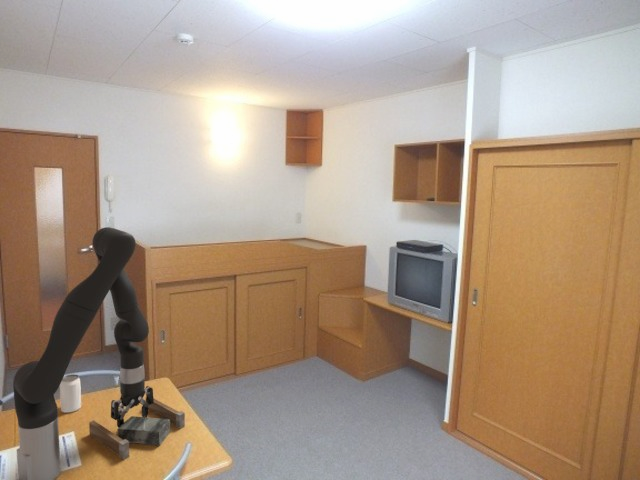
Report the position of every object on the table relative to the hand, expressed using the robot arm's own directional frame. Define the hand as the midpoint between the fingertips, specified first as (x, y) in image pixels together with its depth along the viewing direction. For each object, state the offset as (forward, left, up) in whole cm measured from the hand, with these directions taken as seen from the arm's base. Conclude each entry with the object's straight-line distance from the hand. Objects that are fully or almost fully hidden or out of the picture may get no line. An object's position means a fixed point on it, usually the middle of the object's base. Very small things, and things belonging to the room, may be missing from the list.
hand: (133, 422), depth 143 cm
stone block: (0, -7, -3) cm, 7 cm away
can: (-7, +29, -2) cm, 30 cm away
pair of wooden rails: (0, -3, -2) cm, 3 cm away
